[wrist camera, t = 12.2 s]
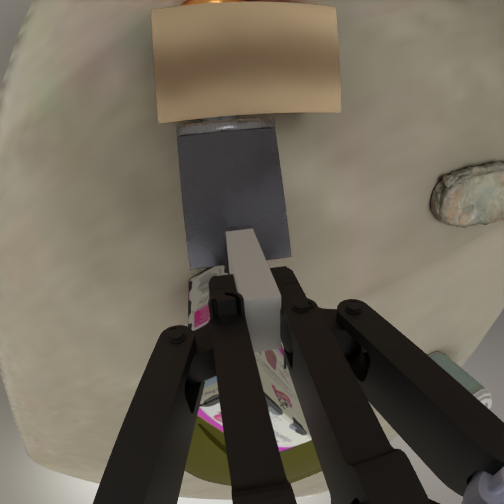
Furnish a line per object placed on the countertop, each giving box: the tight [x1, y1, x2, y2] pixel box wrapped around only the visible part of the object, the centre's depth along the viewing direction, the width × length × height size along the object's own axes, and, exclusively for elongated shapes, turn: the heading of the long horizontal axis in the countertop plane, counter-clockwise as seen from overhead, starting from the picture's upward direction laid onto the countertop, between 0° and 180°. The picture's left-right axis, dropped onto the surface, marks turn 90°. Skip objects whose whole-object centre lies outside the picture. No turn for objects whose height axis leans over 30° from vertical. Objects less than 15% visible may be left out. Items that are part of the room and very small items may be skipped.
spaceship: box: [184, 416, 322, 486], centre depth 44 cm, size 35×31×10 cm
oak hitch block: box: [151, 2, 341, 124], centre depth 21 cm, size 8×12×8 cm, turn 93°
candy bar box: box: [188, 265, 312, 453], centre depth 28 cm, size 11×5×16 cm, turn 31°
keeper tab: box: [177, 117, 291, 269], centre depth 19 cm, size 9×6×1 cm
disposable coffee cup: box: [428, 351, 492, 409], centre depth 42 cm, size 11×11×15 cm
